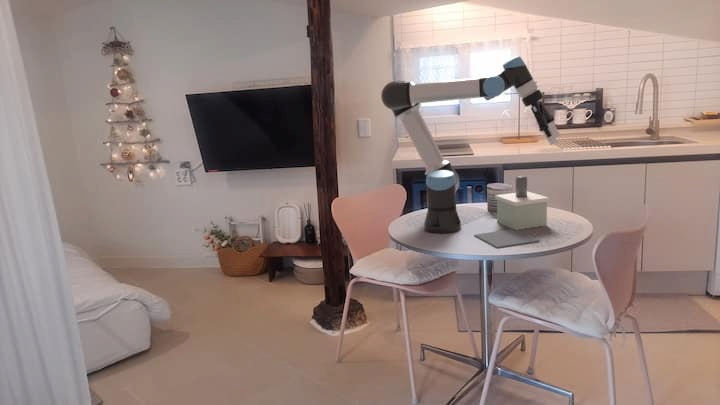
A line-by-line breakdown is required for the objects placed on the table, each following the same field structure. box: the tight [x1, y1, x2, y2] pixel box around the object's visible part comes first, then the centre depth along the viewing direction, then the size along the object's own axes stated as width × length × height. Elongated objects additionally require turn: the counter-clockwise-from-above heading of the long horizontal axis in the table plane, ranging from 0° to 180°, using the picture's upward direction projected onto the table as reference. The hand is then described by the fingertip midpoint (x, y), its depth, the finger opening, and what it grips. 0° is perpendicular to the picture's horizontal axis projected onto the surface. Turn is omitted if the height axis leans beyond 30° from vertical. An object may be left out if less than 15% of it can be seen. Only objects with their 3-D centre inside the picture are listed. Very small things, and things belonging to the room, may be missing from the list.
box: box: [496, 200, 548, 231], centre depth 199 cm, size 14×14×10 cm
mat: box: [474, 228, 540, 249], centre depth 182 cm, size 17×17×1 cm
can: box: [486, 182, 513, 214], centre depth 223 cm, size 11×11×12 cm
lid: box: [495, 175, 550, 206], centre depth 197 cm, size 15×15×10 cm
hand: (555, 140), depth 194 cm, fingers open, 13 cm apart
